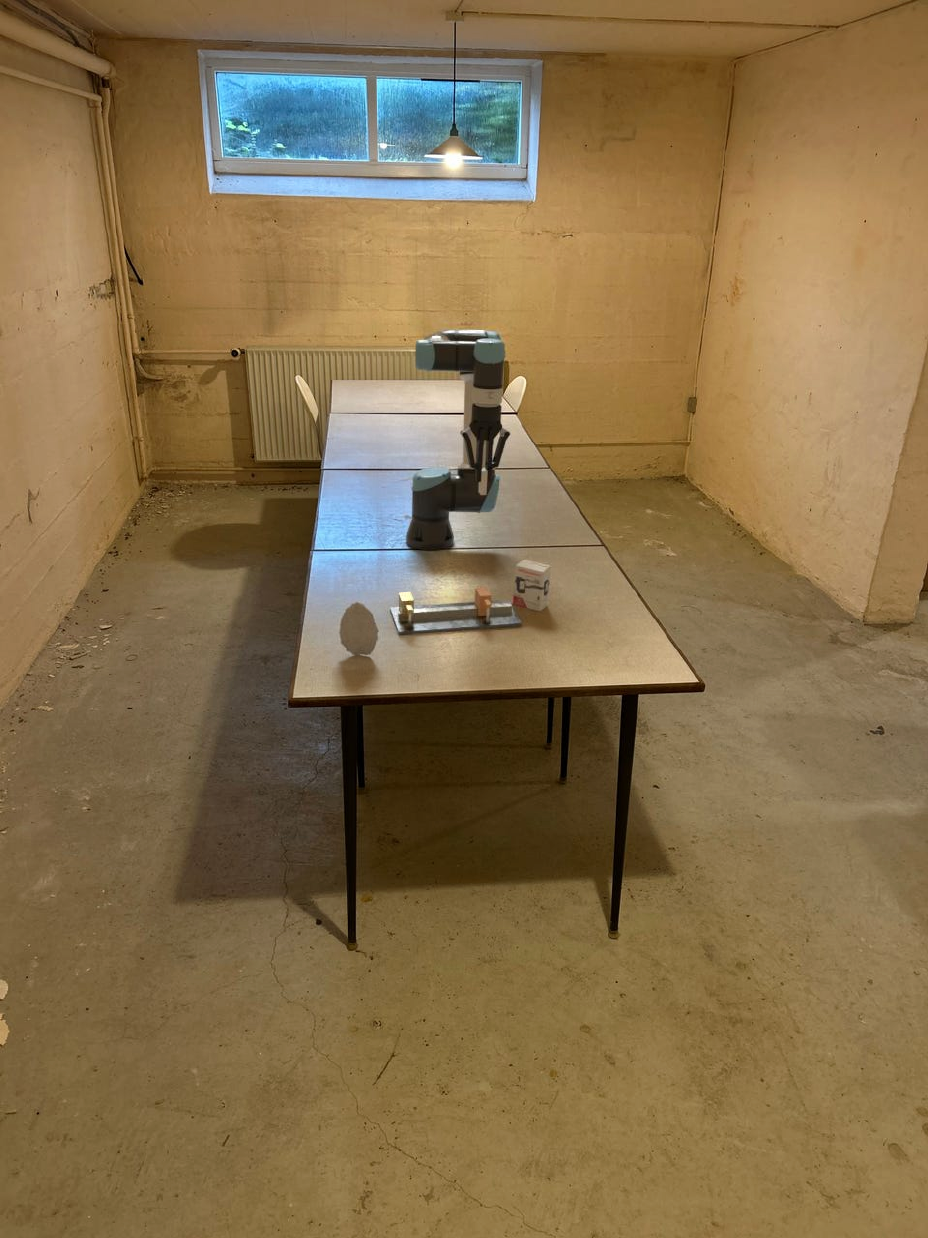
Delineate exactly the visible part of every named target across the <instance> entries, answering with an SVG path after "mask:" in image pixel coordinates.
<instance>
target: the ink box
mask: <svg viewBox="0 0 928 1238" xmlns="http://www.w3.org/2000/svg"><path fill="white" fill-rule="evenodd" d="M551 570H552V566H551V565H549V564H545V563H541V562H538V561H534V560H533V561H532V560H529V559H521V561H520V562H518V563H517V564H516V565H515V572H514V586H513V599H512V605H515V606H518V607H522V608H526V609H530V610H534V611H537V612H542V611H543V610H545V608H546V607H547V606H548V602H549V593H550V592H549V591H550V583H551V582H550V580H551Z"/></svg>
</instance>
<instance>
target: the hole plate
mask: <svg viewBox="0 0 928 1238" xmlns="http://www.w3.org/2000/svg"><path fill="white" fill-rule="evenodd" d="M499 603H510V602H509V600H508V599H497V600H491V604H499ZM470 605H475V601H469V602H468V601H467V602H466V601H465V602H456V603H455V602H454V603H453V602H452V603H451V602H450V603H441V604H438V603H436V604H426V605H425V604H424V605H414V609H426V608H441V607H456V606H470ZM389 610H390V614H391V617H392V619H393V621H394V625H395V628H396V630H397V633H398V636H410V635H411V636H412V635H421V634H422V635H424V634H437V633H438V634H439V633H450V632H461V631H462V632H463V631H475V630H476V631H477V630H490V629H504V628H517V627H522V625H523V622H522V621H521V619H520V618H519V616H518V614H517V613H516V611H515V610H514V609H513V607H512V613H503V614H490V615H489V622H486V616H478V615H475V616H461V617H447V618H433V619H419V620H413V621H411V627H410V628H409V627H408V625H409V621H404V622H402V621H399V619H398V610H399V606H395V607H389Z"/></svg>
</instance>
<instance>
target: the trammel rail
mask: <svg viewBox="0 0 928 1238" xmlns="http://www.w3.org/2000/svg"><path fill="white" fill-rule="evenodd" d="M414 606H415V599H414V597H413V595H412V592H411V591H402V592H398V607H399V610H398V619H399V621H402V622H404V621H409V625H408V627H409V628H410V627H411V621H413V620H419V619H433V618H447V617H461V616H475V615H478V607H477V605H470V606H456V607H441V608H426V609H414ZM512 608H513V604H511V602H509V603H499V604H492V605H491V609H490V614H503V613H512Z"/></svg>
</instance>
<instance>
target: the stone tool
mask: <svg viewBox="0 0 928 1238" xmlns="http://www.w3.org/2000/svg"><path fill="white" fill-rule="evenodd" d="M343 613H344V614H343V615H342V618H341V620H340V624H339V625H340V628H339V637H340V644H341V646H343V647H344V648H345V649H346V651H347V652H349V653H351V654H352V656H360V655H363V656H369V655H371V654H373V653H372V652H374V650H375V649H376V645H377V642H378V640H379V639H378V638H379V636H378V634H379V629H378V626H377V623H376V620H375V616H374V614H373V613H372V612H371V610H370V609H368V608H367V607H366V606H365V604H363V603H361V602H359V601H355V602H354V603H351V604H350V606H348V607H347V608H346V609H345V612H343Z"/></svg>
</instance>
